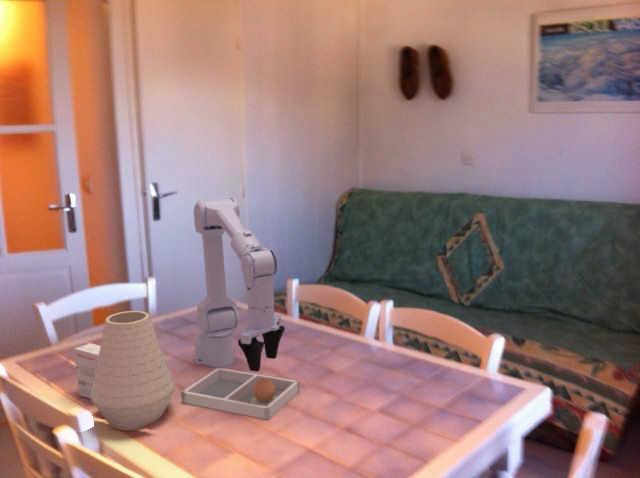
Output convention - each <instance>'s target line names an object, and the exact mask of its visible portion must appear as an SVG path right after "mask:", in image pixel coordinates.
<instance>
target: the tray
mask: <svg viewBox="0 0 640 478" xmlns="http://www.w3.org/2000/svg"><path fill="white" fill-rule="evenodd" d="M260 379H269V380H271V381H272V382H273V383H274V385H275V396H277V398H276V399H275V400H273V401H272V402H271V403H270V404H269V405H268V406H261V405H256V404H251V402H250V401H251V399H252V398H253V397H255V396H254V394H253V387H254V385H255V383H256V382H257V381H258V380H260ZM299 393H300V381H299V380H295V379H288V378H284V377H283V378H282V377H277V376H271V375H270V376H269V375H263V374H259V373H253V372H247V371H246V372H245V371H239V370H234V369H227V368H224V367H219V368H215V369H213V371H211V372H209V373H208V374H206V375H205V376H204V377H202V378H201V379H199V380H197V381H196V382H195V383H193V384H192V385H190V386H188V387H187V388H185V389H184V390H183V391H181V404H187V405H192V406H197V407H201V408H206V409H210V410H211V409H212V410H217V411H221V412H225V413H226V412H227V413H232V414H237V415H241V416H247V417H251V418H252V417H253V418H256V419H257V418H258V419H262V420H266V421H269V420H270V419H271V418H273V417H274V416H275V414H277V413H278V412H279V411H280V410H281V409H282V408H284V406H285V405H286V404H288V403H289V402H290V401H291V400H292V399H293V398H294V397H295V396H297V394H299Z"/></svg>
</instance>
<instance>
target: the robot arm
mask: <svg viewBox="0 0 640 478" xmlns="http://www.w3.org/2000/svg"><path fill="white" fill-rule="evenodd" d="M240 212H241V211H240V206H239V203H238V201H237V200H236V199H235V198H234V197H230V198H222V199H213V200H211V199H209V200H198V201H197V202H196V203H195V205H194V208H193V221H194V229H195V232H196V233H198V234H201V237H202V249H203V258H204V260H203V261H204V271H205V272H204V273H205V283H206V284H205V285H206V296H205V297H204V298H203V299H202V300H201V301H200V302H199V303H198V304H197V306H196V307H197V308H196V326H197V329H198V333H197V335H196V337H195V340H194V341H195V342H194V348H195V349H194V350H195V363H196V364H197V365H204V366H208V367H211V368H215V369H217V368H226V367H229V366H231V365H233V364H234V363H235V349H234V348H235V347H234V333H236V329H238V327H239V325H240V313H239V311H238V306H237V302H236V300H234V299H233V298H232V297H230V296H229V295H227V285H226V270H225V259H224V246H223V234H224V233H226V234H227V235H228V236H229V237H230V238H231V240H230V247H231V248H232V250H233V252H234V253H235V255H236V256H237V257H238V259H239V260H240V262H241V263H240V267H241V272H242V276H243V282H244V286H246V295H247V296H246V297H247V298H246V301H247V317H248V318H247V320H248V323H247V326H246V328H244V331H243V332H242V333H241V334H240V338H239V339H238V340H237V345H238V346H239V347H240V349H241V351H242V352H243V354H244V357H245V359H246V362H247V365H248V368H249V371H251V372H259V371H260V370H261V361H262V352H263V350H264V351H265V356H266V358H267V359H272V360H273V359H274V360H275V359H276V358H277V355H278V350H279V347H280V346H279V345H280V342H281V339H282V336H283V334H284V332H285V331H286V330H285V326H284V325H280V324H282V315H280V314H275V298H274V276H275V275H276V274H277V272H278V267H279V266H278V265H279V264H278V259H277V256H276V253H275V251H274V250H273V249H272V248H268V247H264V246H263V245H262V243H261V242H260V240H259V239H258V238H257V237H256V235H255V233H254V232H252V231H251V230H248V229H245V227H244V225H243V223H242V221H241V219H240V214H241V213H240ZM260 335H261V336H262V338H263V341H259V340H258V339H257V338H258V337H259V336H260ZM263 348H264V349H263Z"/></svg>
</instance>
